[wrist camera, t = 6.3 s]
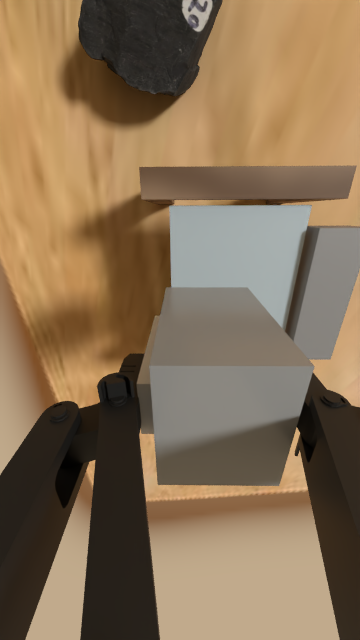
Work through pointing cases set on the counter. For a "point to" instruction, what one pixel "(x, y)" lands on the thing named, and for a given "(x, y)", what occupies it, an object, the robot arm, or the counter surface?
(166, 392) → the grey rectangular block
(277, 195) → the trapdoor frame
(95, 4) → the rock
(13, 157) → the counter surface
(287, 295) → the trapdoor
